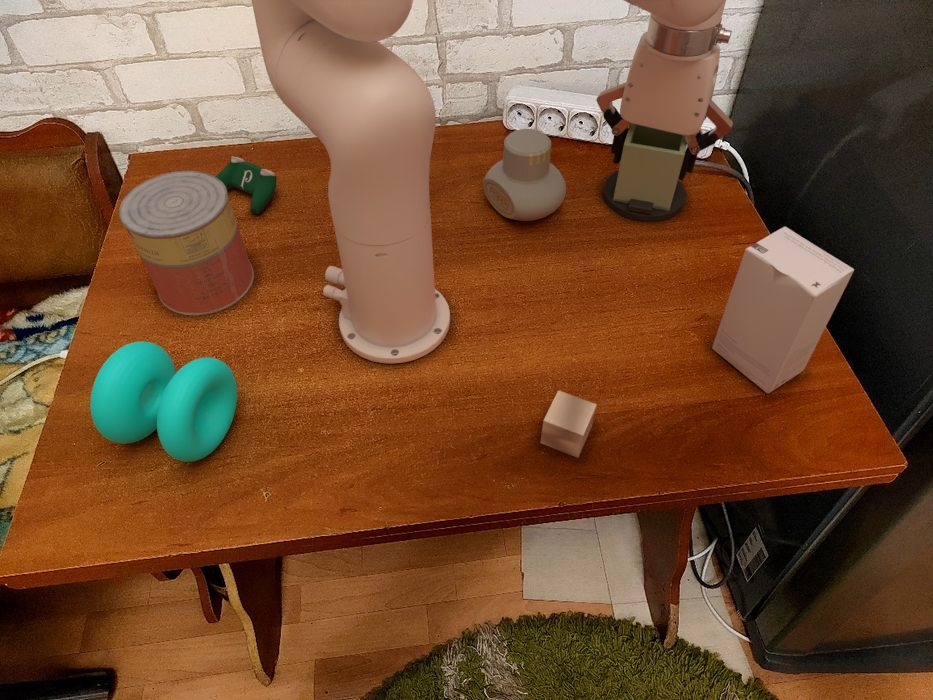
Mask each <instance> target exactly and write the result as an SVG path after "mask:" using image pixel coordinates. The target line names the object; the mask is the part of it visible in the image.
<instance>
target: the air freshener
mask: <svg viewBox="0 0 933 700" xmlns="http://www.w3.org/2000/svg"><path fill="white" fill-rule="evenodd" d="M551 151H552V141H551V138H550V137H549V136H548V135H547V134H545V133H544V132H542V131H540V130H538V129H534V128H520V129H517V130H514V131H511V132H510V133H508V135H506V136H505V138H504V141H503V155H502V156H503V157H502V159H501V160H499V161H497V162H496V163H495V164H494V165H492V166H491V167H490V168H489V170H488V171H487V173H486V174H485V176H484V178H483V183H482V188H483V192H484V194H485V197H486V198H487V200H488V202H489V203H490V205H491V206H492V207H493V208H494V209H495V210H496V211H497V212H498V213H499V214H500V215H501V216H503V217H505V218H507V219H510V220H514V221H519V222H529V221H530V222H532V221H537V220H540V219H543V218H546V217H548V216H550V215H551V214H553V213H554V212H556V211H557V210H558V209H559V208H560V207H561V205H562V204H563V202H564V200H565V198H566V195H567V183H566V181H565V178H564V177H563V175H562V173H561V172H560V170H559V169H558V168H557V167H556V166H555V165H554V164H553V163H551V154H552V153H551Z"/></svg>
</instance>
